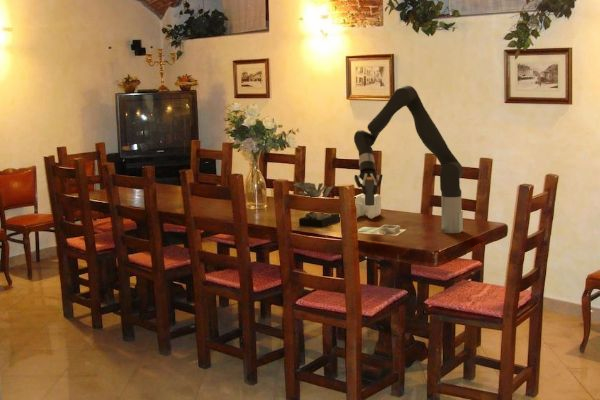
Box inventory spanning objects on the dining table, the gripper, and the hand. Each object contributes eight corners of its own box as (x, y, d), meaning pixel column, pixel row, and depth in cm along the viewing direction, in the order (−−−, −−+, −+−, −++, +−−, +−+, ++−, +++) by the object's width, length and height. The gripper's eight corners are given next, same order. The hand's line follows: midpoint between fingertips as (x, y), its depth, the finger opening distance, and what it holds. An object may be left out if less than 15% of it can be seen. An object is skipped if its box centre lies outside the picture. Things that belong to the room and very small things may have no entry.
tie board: (406, 232, 357) (406, 224, 356) (396, 238, 345) (396, 230, 344) (363, 229, 367) (363, 222, 366) (352, 235, 354) (352, 227, 354)
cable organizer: (364, 213, 408) (363, 192, 406) (382, 214, 403) (381, 193, 401) (353, 218, 395) (352, 197, 393) (371, 220, 390) (371, 198, 388)
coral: (318, 229, 371) (317, 186, 367) (284, 226, 382) (283, 184, 378) (343, 220, 391) (342, 179, 388) (311, 217, 402) (309, 178, 399)
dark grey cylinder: (375, 204, 357) (375, 176, 354) (372, 205, 353) (372, 178, 351) (367, 203, 359) (366, 176, 356) (363, 205, 355) (363, 177, 353)
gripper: (352, 160, 359) (355, 189, 350) (382, 159, 360) (385, 188, 350) (351, 169, 366) (354, 198, 356) (381, 169, 366) (384, 197, 356)
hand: (370, 193), depth 353 cm, fingers closed on dark grey cylinder, 4 cm apart
